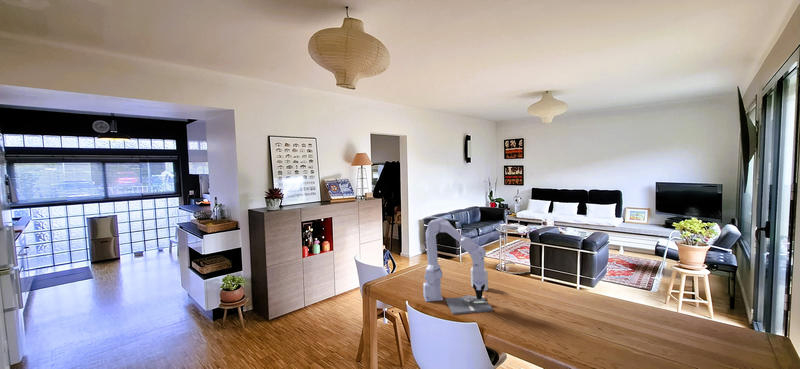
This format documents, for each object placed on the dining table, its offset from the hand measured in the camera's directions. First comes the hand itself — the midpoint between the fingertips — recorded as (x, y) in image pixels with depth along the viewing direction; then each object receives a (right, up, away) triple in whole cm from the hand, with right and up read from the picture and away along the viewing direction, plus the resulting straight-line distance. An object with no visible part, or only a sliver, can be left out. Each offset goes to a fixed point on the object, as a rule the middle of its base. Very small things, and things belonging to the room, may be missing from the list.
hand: (479, 298), depth 156 cm
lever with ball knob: (-1, -3, +4) cm, 5 cm away
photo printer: (+7, -3, +25) cm, 26 cm away
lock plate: (-5, -5, +4) cm, 8 cm away
